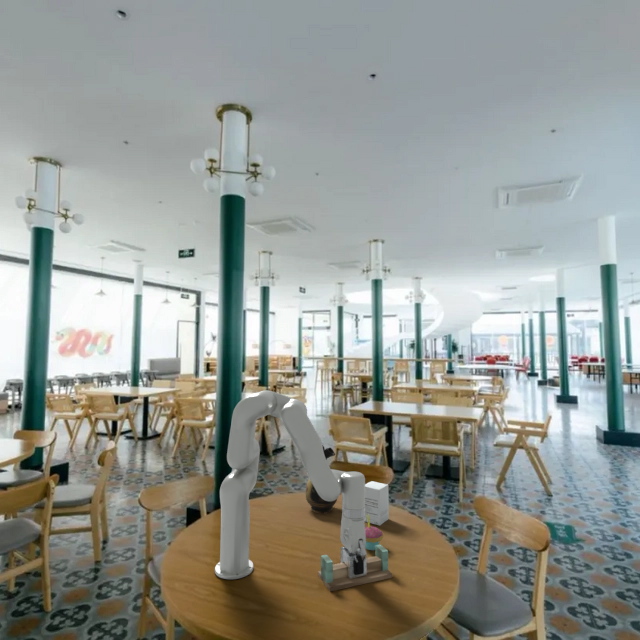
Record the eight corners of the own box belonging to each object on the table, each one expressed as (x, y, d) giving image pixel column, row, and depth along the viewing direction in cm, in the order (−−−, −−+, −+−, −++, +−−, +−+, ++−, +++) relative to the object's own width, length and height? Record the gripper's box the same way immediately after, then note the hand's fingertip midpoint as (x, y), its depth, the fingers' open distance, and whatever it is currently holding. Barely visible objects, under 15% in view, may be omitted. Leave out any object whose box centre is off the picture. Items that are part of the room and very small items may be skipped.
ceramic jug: (343, 506, 196) (343, 442, 198) (330, 518, 181) (331, 449, 184) (310, 501, 202) (311, 439, 205) (296, 512, 188) (297, 445, 191)
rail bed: (318, 575, 135) (318, 552, 135) (376, 563, 143) (376, 541, 144) (330, 591, 126) (330, 566, 126) (392, 577, 134) (392, 554, 134)
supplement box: (371, 514, 186) (371, 480, 188) (389, 519, 181) (389, 484, 182) (361, 521, 179) (361, 485, 180) (379, 526, 174) (379, 489, 175)
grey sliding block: (340, 568, 136) (340, 547, 137) (357, 565, 138) (357, 544, 139) (349, 578, 130) (349, 556, 130) (366, 575, 132) (366, 553, 133)
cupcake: (355, 547, 154) (355, 514, 155) (369, 540, 161) (369, 508, 162) (374, 555, 149) (374, 520, 150) (387, 547, 155) (387, 514, 156)
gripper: (332, 504, 142) (332, 557, 141) (355, 523, 126) (355, 584, 125) (352, 501, 145) (352, 554, 144) (376, 519, 129) (376, 579, 128)
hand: (353, 567), depth 134 cm, fingers closed on grey sliding block, 6 cm apart
